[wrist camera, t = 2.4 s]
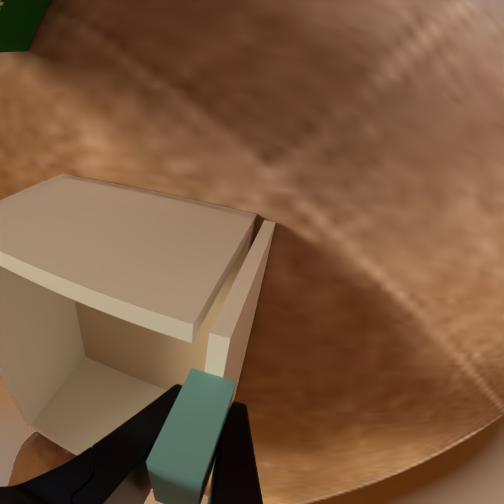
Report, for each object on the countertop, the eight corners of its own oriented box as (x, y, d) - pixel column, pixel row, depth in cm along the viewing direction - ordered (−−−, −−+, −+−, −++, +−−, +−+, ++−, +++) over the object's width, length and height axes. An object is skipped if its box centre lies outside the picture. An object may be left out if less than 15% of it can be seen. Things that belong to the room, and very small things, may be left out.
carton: (84, 353, 22) (28, 425, 15) (63, 173, 15) (-51, 225, 8) (219, 404, 21) (183, 502, 13) (256, 214, 14) (193, 324, 7)
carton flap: (220, 404, 20) (168, 543, 11) (256, 218, 14) (139, 430, 5) (237, 409, 20) (190, 550, 11) (283, 224, 14) (206, 454, 4)
